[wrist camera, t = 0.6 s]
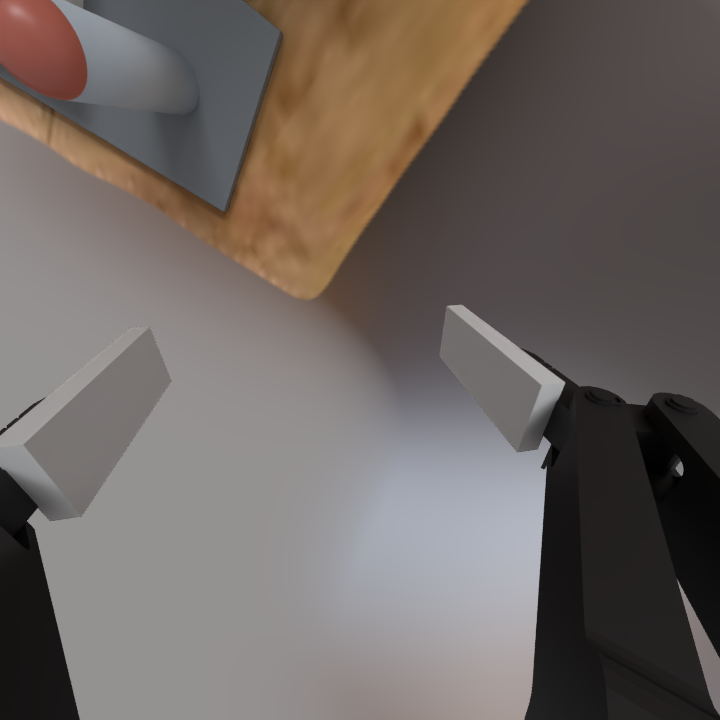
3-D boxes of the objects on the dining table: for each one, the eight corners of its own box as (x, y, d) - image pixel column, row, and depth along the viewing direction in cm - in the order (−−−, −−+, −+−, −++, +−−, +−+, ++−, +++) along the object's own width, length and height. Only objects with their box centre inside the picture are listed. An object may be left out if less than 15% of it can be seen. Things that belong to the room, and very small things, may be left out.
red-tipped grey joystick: (142, 93, 27) (-50, 55, 15) (150, 32, 25) (-71, -74, 12) (192, 126, 28) (53, 116, 16) (204, 71, 26) (52, 10, 14)
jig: (-61, 35, 26) (-122, 20, 23) (-118, -297, 18) (-227, -394, 15) (227, 210, 34) (211, 217, 30) (283, 34, 25) (269, 19, 22)
